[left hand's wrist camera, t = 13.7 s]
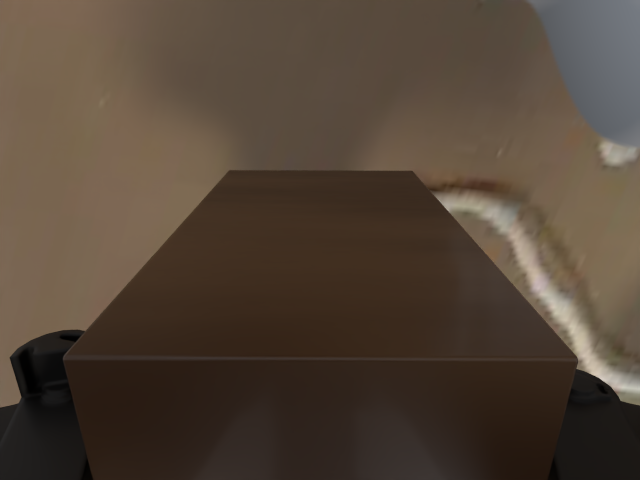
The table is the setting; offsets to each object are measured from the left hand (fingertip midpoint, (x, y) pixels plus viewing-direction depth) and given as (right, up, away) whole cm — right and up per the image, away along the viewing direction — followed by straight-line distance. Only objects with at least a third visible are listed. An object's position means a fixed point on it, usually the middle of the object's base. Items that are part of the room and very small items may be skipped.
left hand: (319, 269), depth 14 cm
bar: (0, -9, +4) cm, 10 cm away
